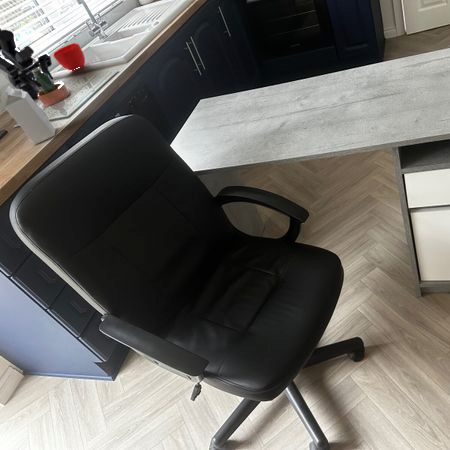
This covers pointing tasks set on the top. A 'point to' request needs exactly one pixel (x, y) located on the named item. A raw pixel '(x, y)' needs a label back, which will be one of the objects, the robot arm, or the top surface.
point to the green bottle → (44, 81)
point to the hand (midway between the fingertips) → (46, 82)
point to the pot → (54, 95)
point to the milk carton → (28, 115)
